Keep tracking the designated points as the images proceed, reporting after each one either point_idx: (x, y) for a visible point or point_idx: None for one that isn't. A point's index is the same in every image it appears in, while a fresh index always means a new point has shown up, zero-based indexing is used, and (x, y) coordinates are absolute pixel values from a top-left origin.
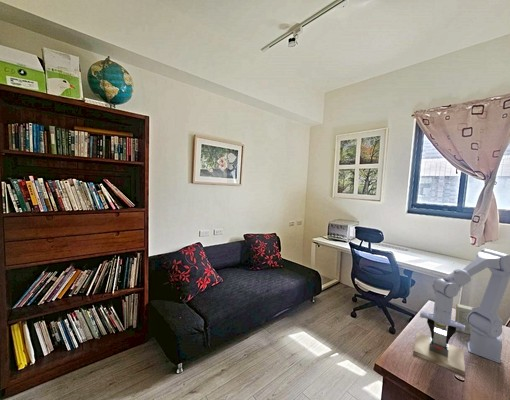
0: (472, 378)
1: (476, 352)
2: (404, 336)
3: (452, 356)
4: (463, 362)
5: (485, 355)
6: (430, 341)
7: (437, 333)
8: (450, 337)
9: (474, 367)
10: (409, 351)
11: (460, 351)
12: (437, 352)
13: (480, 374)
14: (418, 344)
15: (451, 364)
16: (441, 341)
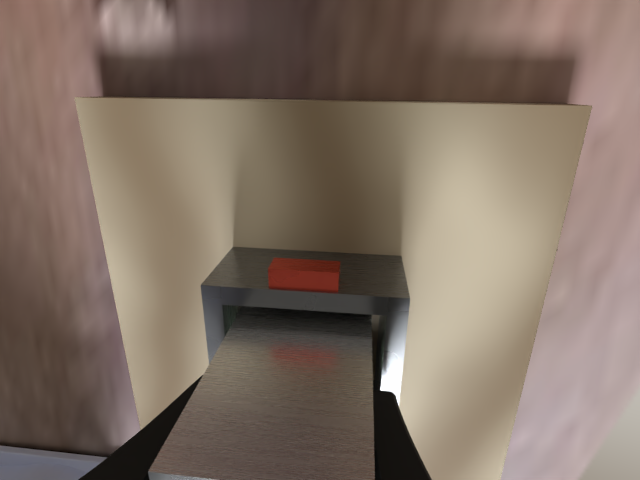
0: (50, 101)
1: (80, 473)
2: (615, 387)
3: (199, 294)
4: (112, 258)
5: (29, 469)
6: (400, 347)
7: (311, 473)
8: (96, 466)
9: (69, 288)
10: (605, 129)
11: (155, 413)
12: (322, 255)
13: (21, 218)
14: (508, 291)
15: (191, 133)
16: (264, 364)
